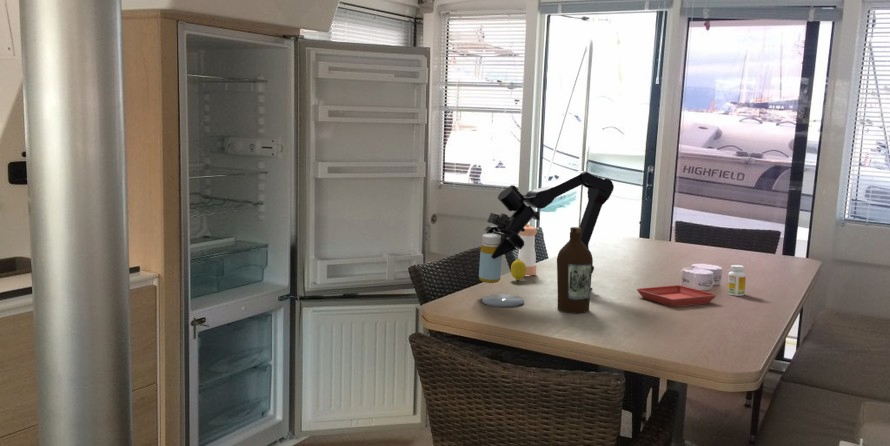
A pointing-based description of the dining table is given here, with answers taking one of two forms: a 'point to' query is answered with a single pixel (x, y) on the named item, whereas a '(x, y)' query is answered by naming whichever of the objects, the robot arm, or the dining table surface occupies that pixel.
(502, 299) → the stand
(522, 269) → the lemon
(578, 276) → the olive oil
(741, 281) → the supplement bottle
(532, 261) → the pepper shaker
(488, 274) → the bottle
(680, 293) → the plant saucer
